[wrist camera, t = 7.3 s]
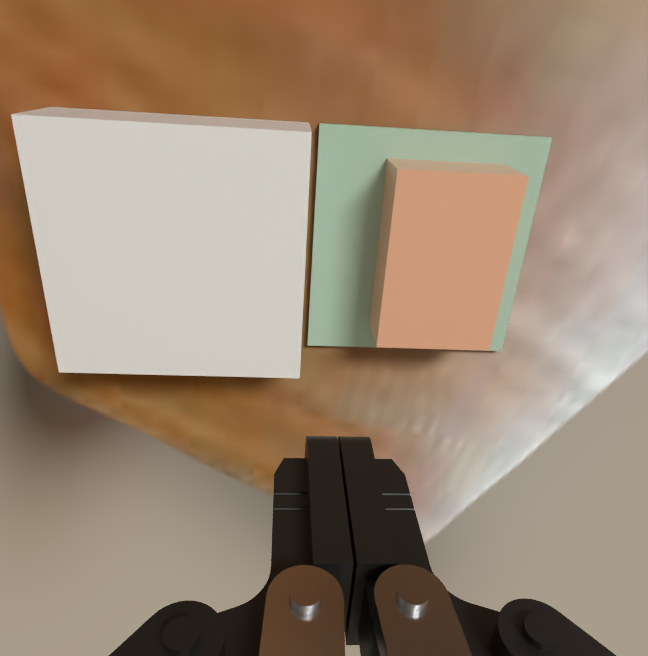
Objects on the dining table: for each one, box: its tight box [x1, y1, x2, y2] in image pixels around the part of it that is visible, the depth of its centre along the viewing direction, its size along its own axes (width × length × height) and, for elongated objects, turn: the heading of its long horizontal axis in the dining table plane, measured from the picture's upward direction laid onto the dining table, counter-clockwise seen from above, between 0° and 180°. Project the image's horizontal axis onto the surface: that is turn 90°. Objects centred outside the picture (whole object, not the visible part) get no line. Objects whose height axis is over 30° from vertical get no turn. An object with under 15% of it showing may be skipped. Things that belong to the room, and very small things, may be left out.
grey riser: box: [11, 107, 312, 378], centre depth 26 cm, size 12×12×4 cm
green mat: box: [307, 123, 552, 351], centre depth 29 cm, size 12×12×1 cm
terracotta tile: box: [369, 158, 529, 351], centre depth 27 cm, size 9×6×3 cm, turn 177°
